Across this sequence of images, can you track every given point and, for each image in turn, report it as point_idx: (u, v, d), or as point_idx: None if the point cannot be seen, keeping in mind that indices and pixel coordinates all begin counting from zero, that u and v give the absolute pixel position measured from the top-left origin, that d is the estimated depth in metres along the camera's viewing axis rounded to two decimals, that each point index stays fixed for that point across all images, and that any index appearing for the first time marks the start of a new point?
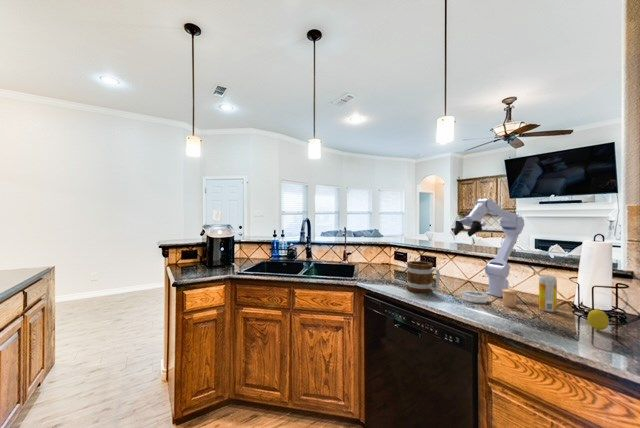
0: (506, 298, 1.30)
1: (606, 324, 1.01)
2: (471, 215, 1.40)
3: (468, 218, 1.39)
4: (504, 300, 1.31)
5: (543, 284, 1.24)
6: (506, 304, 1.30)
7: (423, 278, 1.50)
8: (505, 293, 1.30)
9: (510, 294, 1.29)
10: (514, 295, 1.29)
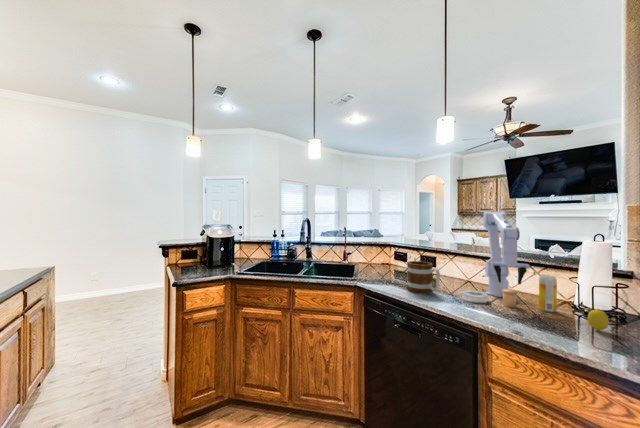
0: (506, 298, 1.30)
1: (606, 324, 1.01)
2: (512, 260, 1.28)
3: (511, 265, 1.28)
4: (504, 300, 1.31)
5: (543, 284, 1.24)
6: (506, 304, 1.30)
7: (423, 278, 1.50)
8: (505, 293, 1.30)
9: (510, 294, 1.29)
10: (514, 295, 1.29)
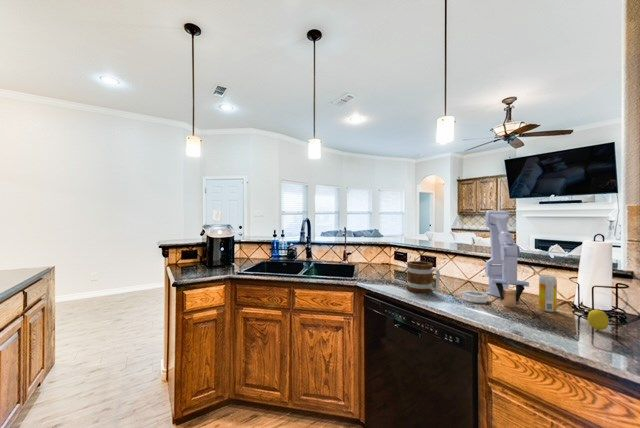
0: (506, 298, 1.30)
1: (606, 324, 1.01)
2: (512, 278, 1.28)
3: (511, 283, 1.28)
4: (504, 300, 1.31)
5: (543, 284, 1.24)
6: (506, 304, 1.30)
7: (423, 278, 1.50)
8: (505, 293, 1.30)
9: (510, 294, 1.29)
10: (514, 295, 1.29)
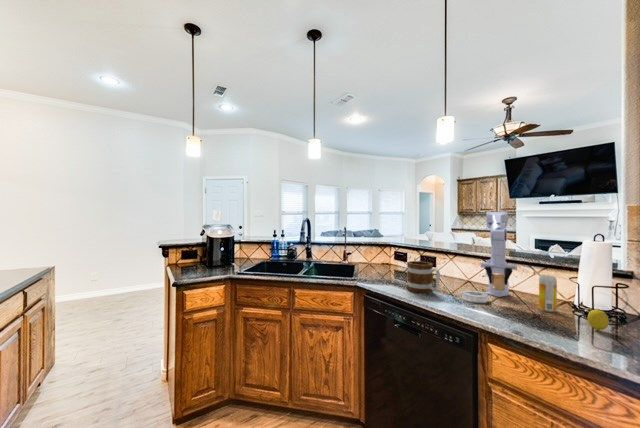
0: (495, 281, 1.33)
1: (606, 324, 1.01)
2: (500, 261, 1.31)
3: (500, 266, 1.31)
4: (493, 284, 1.34)
5: (543, 284, 1.24)
6: (495, 288, 1.33)
7: (423, 278, 1.50)
8: (494, 277, 1.33)
9: (499, 277, 1.32)
10: (503, 278, 1.32)
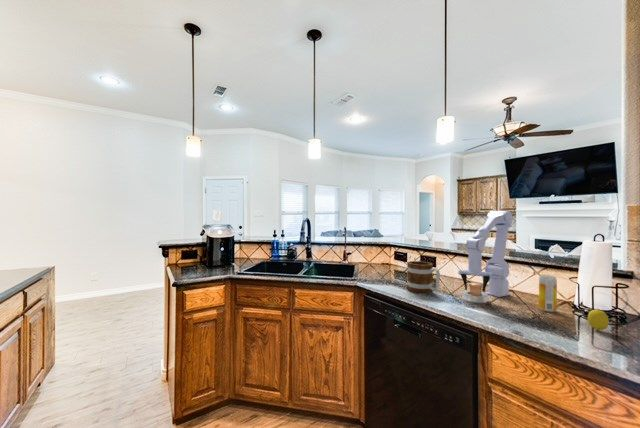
0: (472, 291, 1.39)
1: (606, 324, 1.01)
2: (476, 269, 1.37)
3: None
4: (470, 293, 1.40)
5: (543, 284, 1.24)
6: None
7: (423, 278, 1.50)
8: (471, 286, 1.39)
9: (476, 287, 1.38)
10: (479, 288, 1.38)
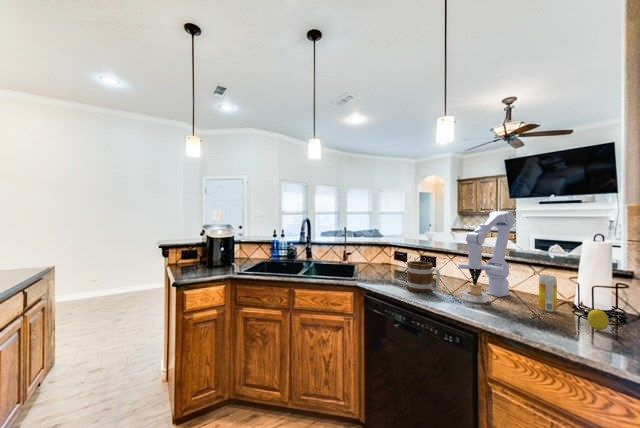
0: (472, 291, 1.39)
1: (606, 324, 1.01)
2: (476, 263, 1.37)
3: None
4: (470, 293, 1.40)
5: (543, 284, 1.24)
6: None
7: (423, 278, 1.50)
8: (471, 286, 1.39)
9: (476, 287, 1.38)
10: (479, 288, 1.38)
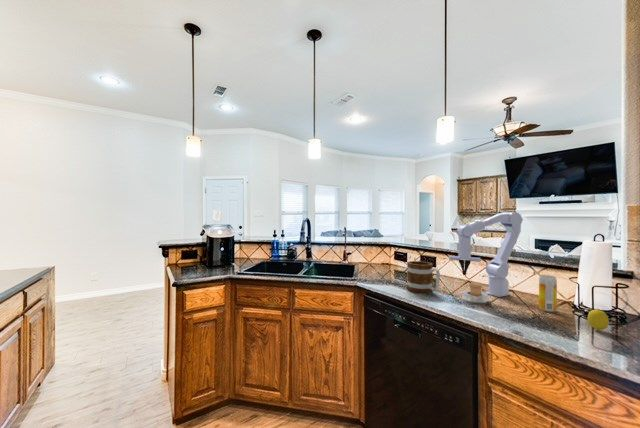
0: (472, 291, 1.39)
1: (606, 324, 1.01)
2: (465, 254, 1.46)
3: None
4: (470, 293, 1.40)
5: (543, 284, 1.24)
6: None
7: (423, 278, 1.50)
8: (471, 286, 1.39)
9: (476, 287, 1.38)
10: (479, 288, 1.38)
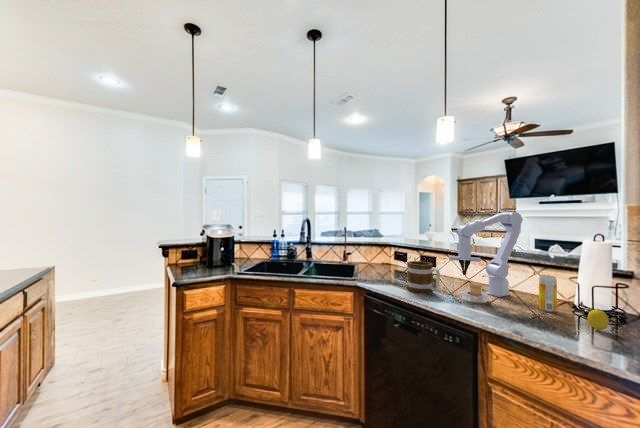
0: (472, 291, 1.39)
1: (606, 324, 1.01)
2: (465, 254, 1.46)
3: None
4: (470, 293, 1.40)
5: (543, 284, 1.24)
6: None
7: (423, 278, 1.50)
8: (471, 286, 1.39)
9: (476, 287, 1.38)
10: (479, 288, 1.38)
